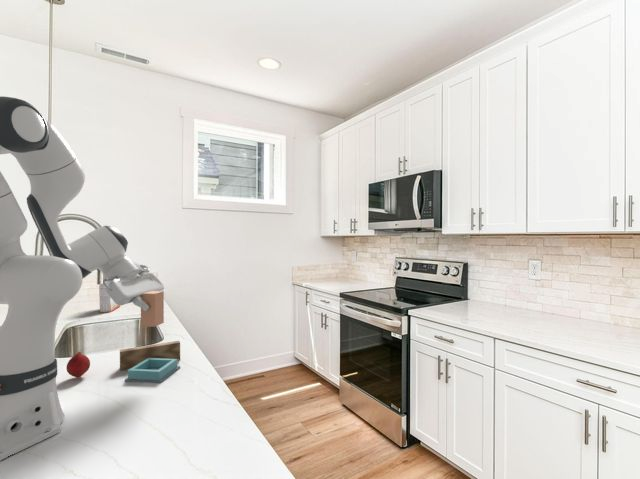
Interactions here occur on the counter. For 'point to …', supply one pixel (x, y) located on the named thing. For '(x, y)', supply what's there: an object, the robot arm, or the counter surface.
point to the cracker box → (106, 300)
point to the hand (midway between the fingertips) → (154, 307)
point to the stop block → (153, 309)
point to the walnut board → (148, 353)
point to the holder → (152, 370)
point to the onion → (78, 365)
